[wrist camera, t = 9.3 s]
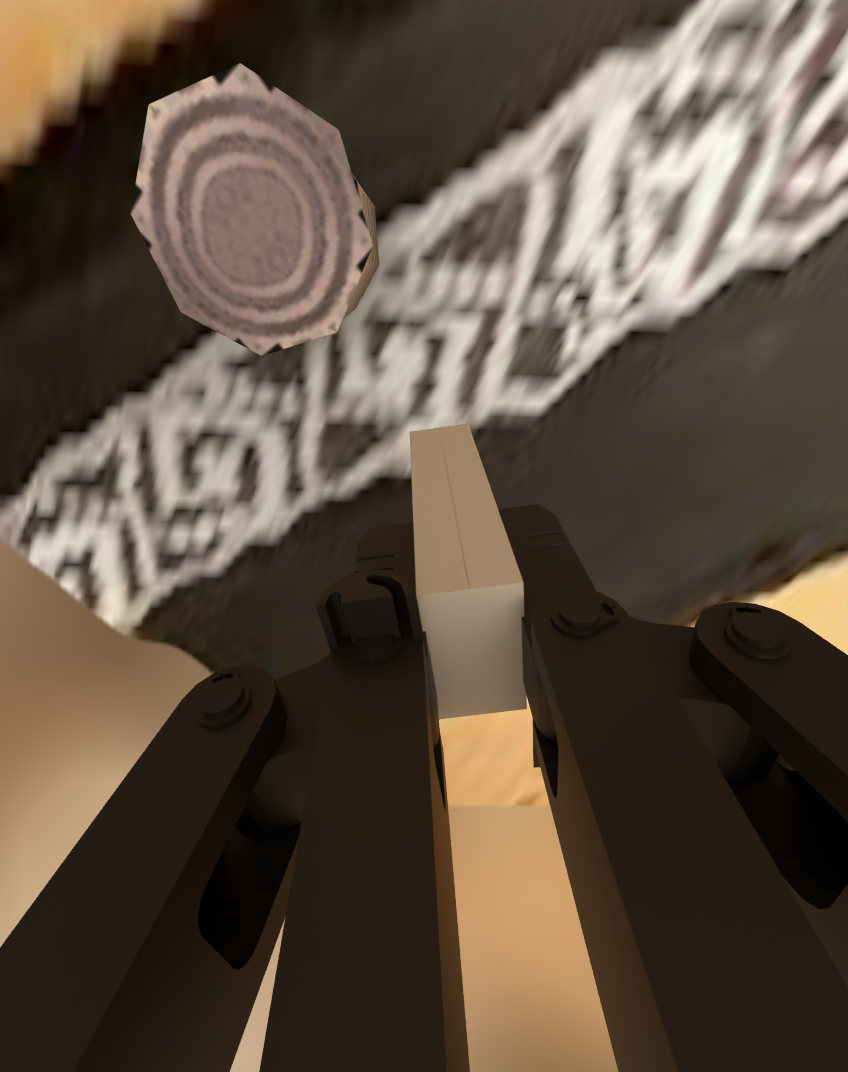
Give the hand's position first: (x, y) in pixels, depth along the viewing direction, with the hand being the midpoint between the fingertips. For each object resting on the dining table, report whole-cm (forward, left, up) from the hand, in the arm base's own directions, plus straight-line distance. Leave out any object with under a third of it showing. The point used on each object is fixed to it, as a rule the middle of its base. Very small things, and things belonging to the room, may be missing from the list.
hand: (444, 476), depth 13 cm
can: (-8, +7, -28) cm, 30 cm away
